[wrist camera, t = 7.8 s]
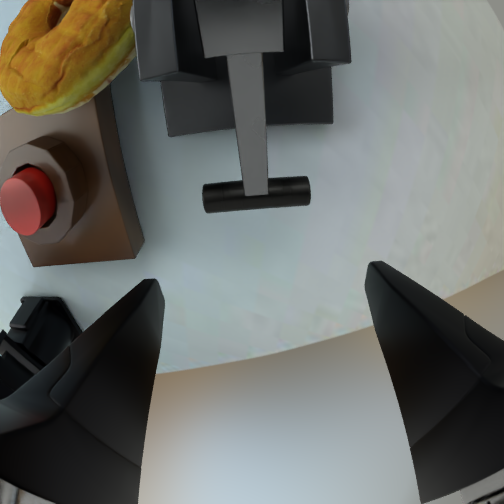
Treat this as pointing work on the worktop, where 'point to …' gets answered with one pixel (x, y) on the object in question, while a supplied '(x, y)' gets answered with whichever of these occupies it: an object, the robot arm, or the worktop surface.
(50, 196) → the button
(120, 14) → the yellow donut
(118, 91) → the worktop surface
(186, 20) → the bracket
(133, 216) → the button block
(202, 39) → the lever
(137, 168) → the worktop surface
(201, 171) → the worktop surface
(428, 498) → the robot arm
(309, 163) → the worktop surface
